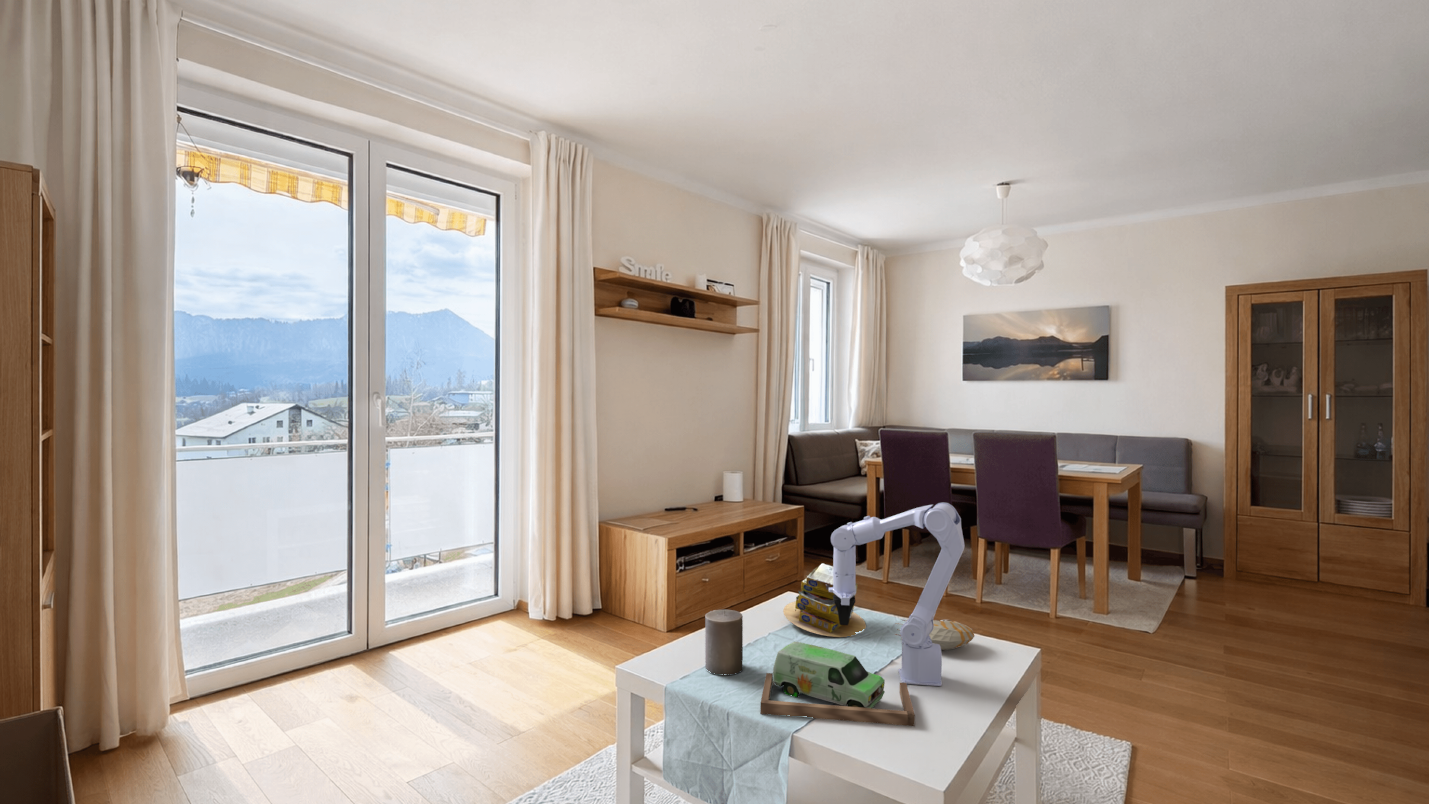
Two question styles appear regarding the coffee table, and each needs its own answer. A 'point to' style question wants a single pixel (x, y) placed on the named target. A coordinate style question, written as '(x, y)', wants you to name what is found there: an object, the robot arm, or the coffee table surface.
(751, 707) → the coffee table surface
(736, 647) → the pillar candle
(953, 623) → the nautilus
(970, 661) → the coffee table surface
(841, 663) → the toy car
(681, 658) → the coffee table surface
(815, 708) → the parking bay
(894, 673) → the coffee table surface
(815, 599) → the stacked boxes on plate
